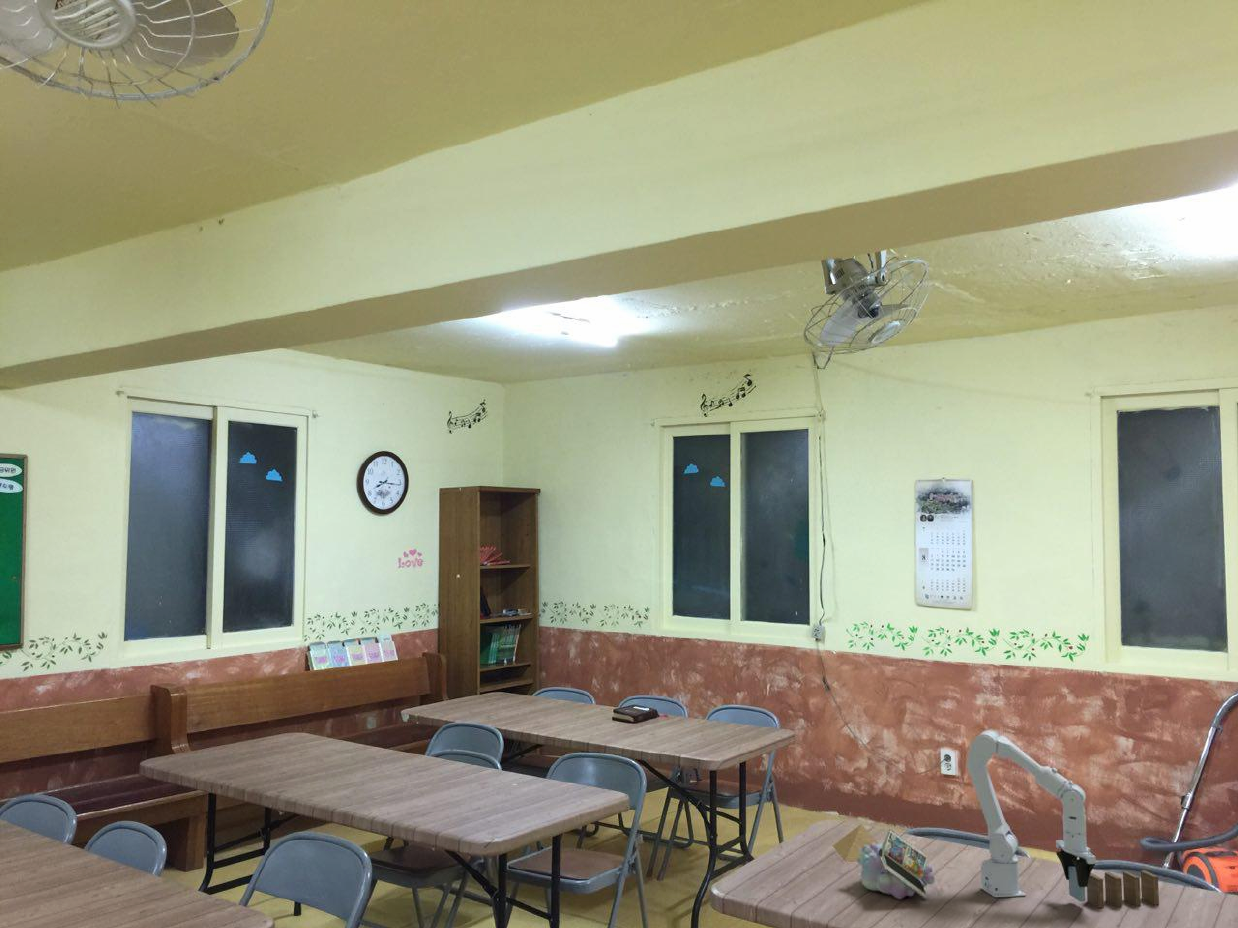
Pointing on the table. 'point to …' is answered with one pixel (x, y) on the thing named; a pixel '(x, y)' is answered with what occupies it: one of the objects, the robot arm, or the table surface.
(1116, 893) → the domino
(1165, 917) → the table surface
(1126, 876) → the domino
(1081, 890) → the domino
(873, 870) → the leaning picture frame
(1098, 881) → the domino
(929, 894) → the table surface
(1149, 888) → the domino
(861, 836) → the model pyramid
